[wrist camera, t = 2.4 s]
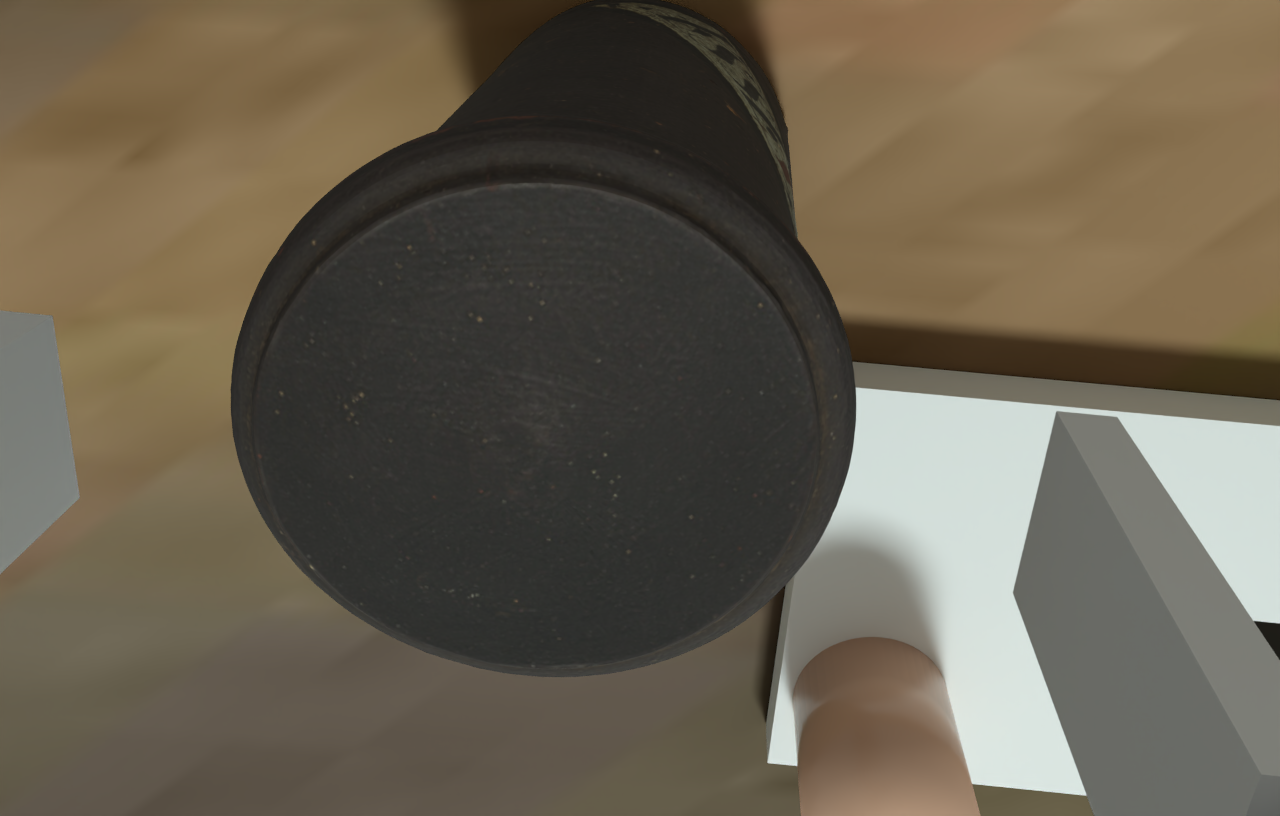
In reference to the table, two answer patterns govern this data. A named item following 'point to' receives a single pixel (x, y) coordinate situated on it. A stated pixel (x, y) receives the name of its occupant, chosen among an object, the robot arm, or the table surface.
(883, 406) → the thin white panel
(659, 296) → the container
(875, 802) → the peach rounded cylinder
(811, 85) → the table surface
